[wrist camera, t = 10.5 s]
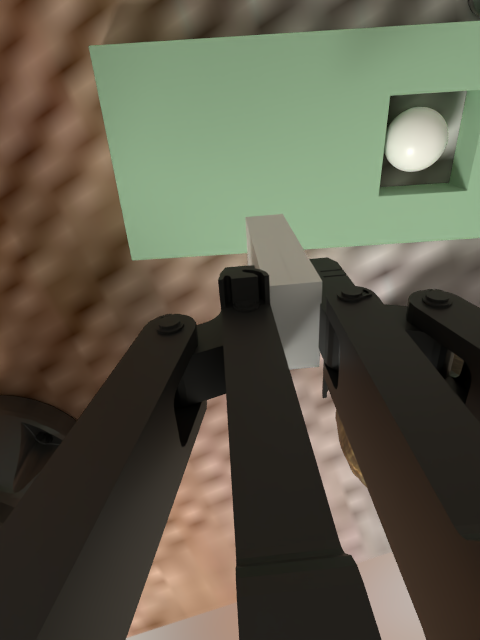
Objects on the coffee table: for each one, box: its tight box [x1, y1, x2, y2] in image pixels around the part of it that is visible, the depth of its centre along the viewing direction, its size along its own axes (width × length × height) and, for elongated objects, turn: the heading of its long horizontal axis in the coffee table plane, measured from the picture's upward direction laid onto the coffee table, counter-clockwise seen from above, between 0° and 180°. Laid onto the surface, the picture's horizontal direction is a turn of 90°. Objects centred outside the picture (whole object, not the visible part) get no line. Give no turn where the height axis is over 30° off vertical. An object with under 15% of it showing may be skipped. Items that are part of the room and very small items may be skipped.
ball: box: [384, 107, 448, 172], centre depth 25 cm, size 4×4×4 cm
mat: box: [89, 21, 480, 260], centre depth 25 cm, size 26×12×4 cm, turn 93°
